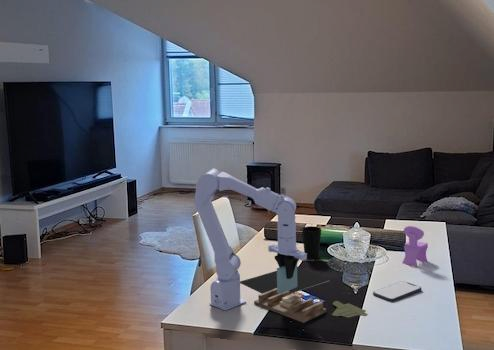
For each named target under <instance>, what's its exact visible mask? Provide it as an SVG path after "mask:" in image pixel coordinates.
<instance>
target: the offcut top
mask: <svg viewBox="0 0 494 350" xmlns="http://www.w3.org/2000/svg"><path fill="white" fill-rule="evenodd" d="M300 300H302V296H301V295H298V294H295V293H291V294H290V295H288V296H285V297H283V298H282V302H285V303H288V304H293V303H295V302H297V301H300Z"/></svg>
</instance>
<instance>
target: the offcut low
mask: <svg viewBox="0 0 494 350" xmlns="http://www.w3.org/2000/svg"><path fill="white" fill-rule="evenodd" d="M303 301H304V300H303V299H301V300H300V301H297V302H295V303H293V304H288V303H285V302H282V301H281V302H280V306H283V307H285V308H288V309H291V307H292V306H294V305H296V304H299V303H301V302H303Z"/></svg>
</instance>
